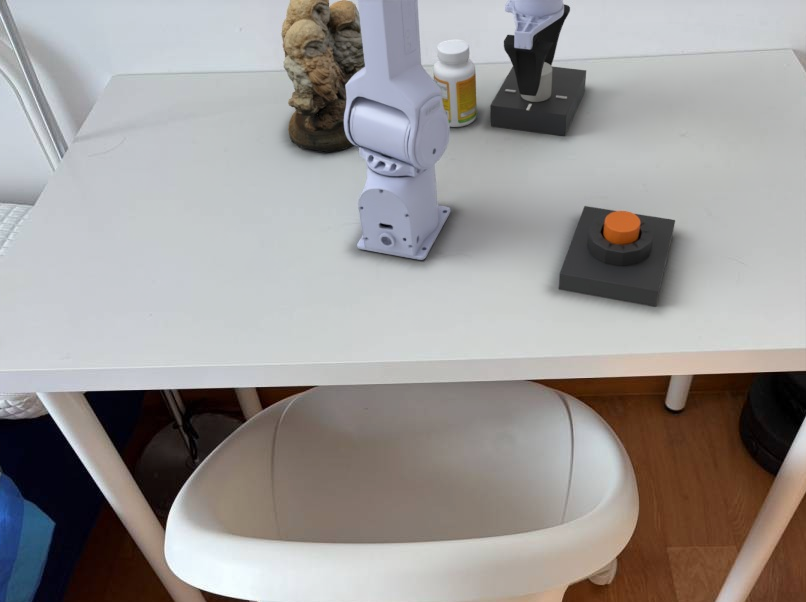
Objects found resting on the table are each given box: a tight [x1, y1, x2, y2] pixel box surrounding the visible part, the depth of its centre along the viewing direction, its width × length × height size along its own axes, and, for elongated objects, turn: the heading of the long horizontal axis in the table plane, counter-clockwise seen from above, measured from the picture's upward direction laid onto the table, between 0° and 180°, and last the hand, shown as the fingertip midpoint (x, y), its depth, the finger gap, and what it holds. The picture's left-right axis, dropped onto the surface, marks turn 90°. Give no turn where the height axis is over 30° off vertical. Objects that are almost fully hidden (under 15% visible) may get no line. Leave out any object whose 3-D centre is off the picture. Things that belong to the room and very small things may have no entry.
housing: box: [558, 205, 676, 308], centre depth 83 cm, size 12×10×4 cm
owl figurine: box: [280, 0, 365, 153], centre depth 99 cm, size 18×12×17 cm, turn 161°
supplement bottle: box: [432, 38, 478, 128], centre depth 102 cm, size 5×5×10 cm
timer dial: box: [520, 62, 552, 102], centre depth 101 cm, size 4×4×4 cm
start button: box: [603, 210, 640, 245], centre depth 81 cm, size 4×4×2 cm
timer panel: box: [489, 65, 587, 137], centre depth 105 cm, size 12×10×3 cm
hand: (535, 79), depth 101 cm, fingers open, 7 cm apart
